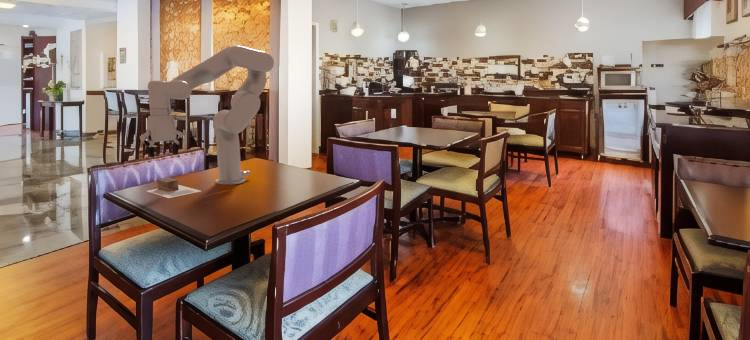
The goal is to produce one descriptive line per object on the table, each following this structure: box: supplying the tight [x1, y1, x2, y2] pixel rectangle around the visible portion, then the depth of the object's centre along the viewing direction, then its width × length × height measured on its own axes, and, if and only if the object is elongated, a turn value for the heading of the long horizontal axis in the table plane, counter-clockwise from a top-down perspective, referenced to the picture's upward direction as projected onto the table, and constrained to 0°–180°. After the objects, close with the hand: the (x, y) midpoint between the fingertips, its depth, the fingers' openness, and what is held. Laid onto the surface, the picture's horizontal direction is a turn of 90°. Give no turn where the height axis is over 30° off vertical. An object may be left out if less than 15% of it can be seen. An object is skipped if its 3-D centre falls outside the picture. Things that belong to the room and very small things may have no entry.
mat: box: [146, 184, 202, 199], centre depth 184 cm, size 14×18×1 cm
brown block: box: [156, 177, 179, 192], centre depth 186 cm, size 4×8×4 cm, turn 52°
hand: (163, 155), depth 184 cm, fingers open, 9 cm apart
